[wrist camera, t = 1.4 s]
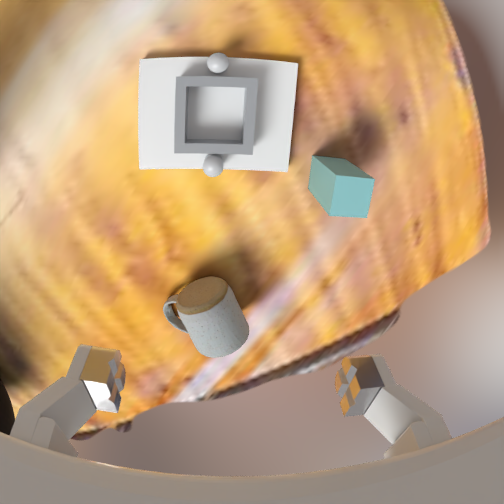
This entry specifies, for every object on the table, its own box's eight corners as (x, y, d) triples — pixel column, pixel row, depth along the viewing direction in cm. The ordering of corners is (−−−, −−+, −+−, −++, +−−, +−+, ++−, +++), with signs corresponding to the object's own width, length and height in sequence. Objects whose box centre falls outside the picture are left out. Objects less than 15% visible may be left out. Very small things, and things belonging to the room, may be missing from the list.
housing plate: (142, 168, 33) (133, 177, 30) (142, 58, 27) (133, 55, 24) (285, 170, 35) (292, 180, 31) (295, 62, 29) (304, 59, 25)
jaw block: (307, 188, 36) (329, 215, 29) (312, 155, 34) (336, 175, 27) (339, 190, 36) (366, 217, 30) (344, 158, 34) (374, 179, 28)
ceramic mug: (227, 265, 40) (227, 303, 33) (248, 311, 44) (252, 351, 37) (153, 288, 41) (143, 328, 34) (180, 330, 45) (175, 370, 39)
